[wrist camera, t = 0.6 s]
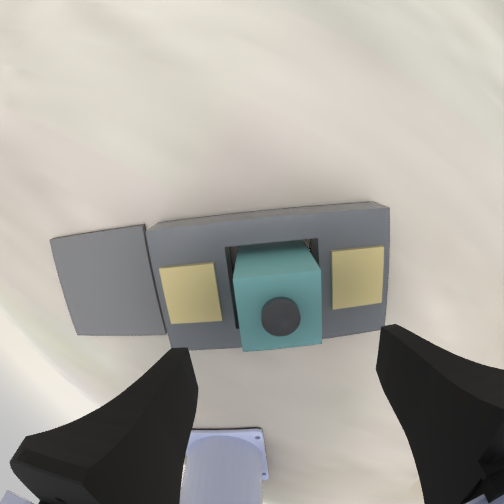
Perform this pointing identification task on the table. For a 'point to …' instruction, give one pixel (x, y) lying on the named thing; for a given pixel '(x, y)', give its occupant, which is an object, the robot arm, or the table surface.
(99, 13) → the table surface
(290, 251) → the plug
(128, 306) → the mat
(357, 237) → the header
